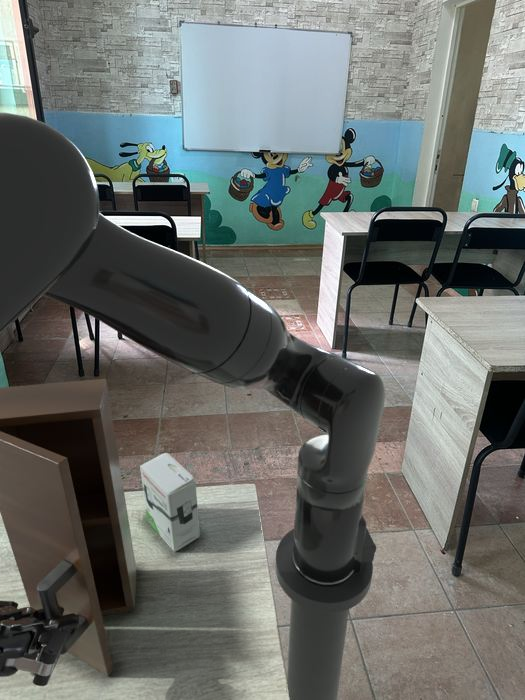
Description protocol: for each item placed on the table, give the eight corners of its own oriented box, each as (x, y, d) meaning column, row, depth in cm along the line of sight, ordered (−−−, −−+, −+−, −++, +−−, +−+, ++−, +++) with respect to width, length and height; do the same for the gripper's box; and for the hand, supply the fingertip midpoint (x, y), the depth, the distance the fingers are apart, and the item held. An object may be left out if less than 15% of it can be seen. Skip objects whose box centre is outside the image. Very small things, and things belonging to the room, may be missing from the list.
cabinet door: (84, 708, 53) (22, 490, 39) (13, 660, 58) (-65, 450, 44) (113, 669, 57) (67, 457, 43) (44, 627, 62) (-18, 423, 48)
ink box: (145, 521, 78) (137, 463, 73) (171, 506, 81) (165, 449, 76) (174, 554, 72) (168, 494, 67) (201, 537, 75) (197, 478, 70)
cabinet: (134, 610, 64) (100, 409, 50) (43, 625, 62) (-20, 420, 48) (136, 569, 70) (106, 378, 55) (53, 582, 68) (-1, 387, 53)
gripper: (-6, 645, 33) (131, 607, 49) (-124, 576, 39) (33, 561, 54) (-53, 768, 32) (104, 688, 47) (-171, 677, 37) (5, 632, 52)
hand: (65, 620), depth 51 cm, fingers closed
